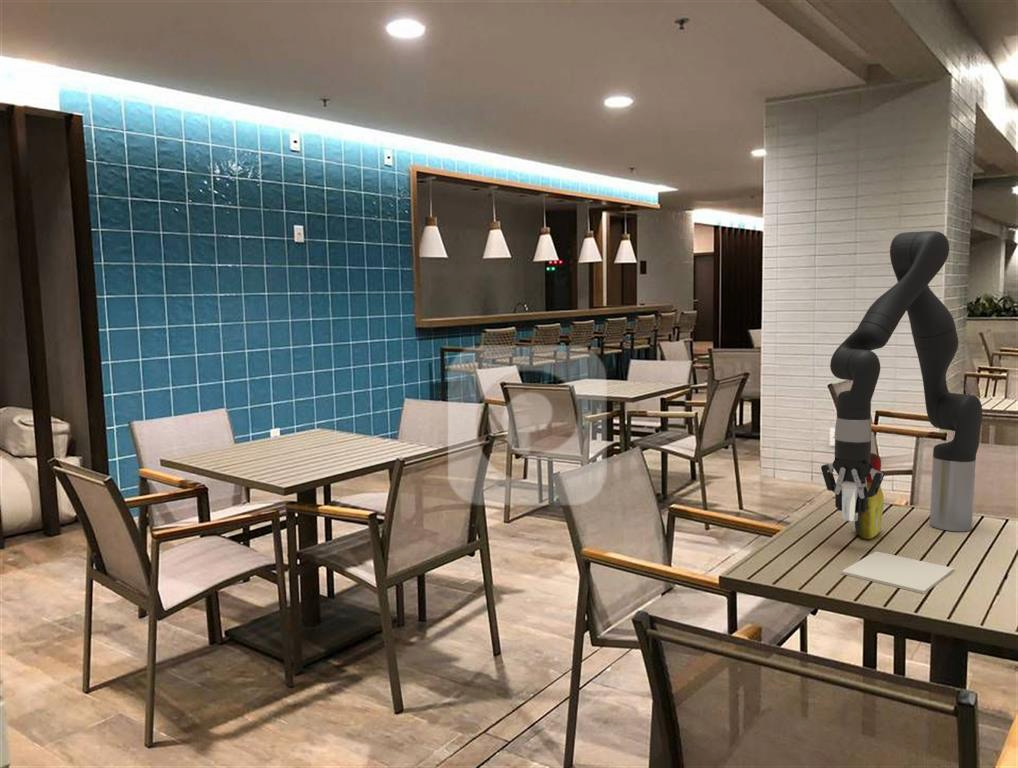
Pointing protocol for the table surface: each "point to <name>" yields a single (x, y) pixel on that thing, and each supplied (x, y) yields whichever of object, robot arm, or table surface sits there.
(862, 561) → the mat
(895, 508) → the table surface
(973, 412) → the robot arm
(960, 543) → the table surface
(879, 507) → the bottle
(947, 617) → the table surface
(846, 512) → the milkshake
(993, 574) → the table surface
